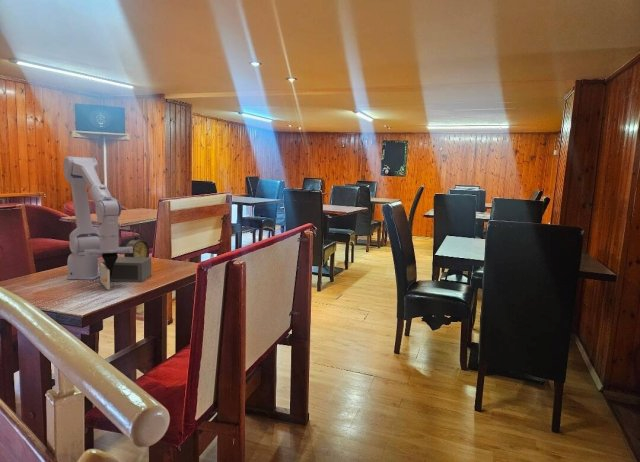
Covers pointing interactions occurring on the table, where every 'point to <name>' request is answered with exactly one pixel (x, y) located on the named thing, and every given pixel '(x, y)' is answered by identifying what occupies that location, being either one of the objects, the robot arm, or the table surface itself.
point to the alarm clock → (138, 248)
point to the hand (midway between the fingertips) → (110, 275)
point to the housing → (131, 269)
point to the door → (104, 275)
